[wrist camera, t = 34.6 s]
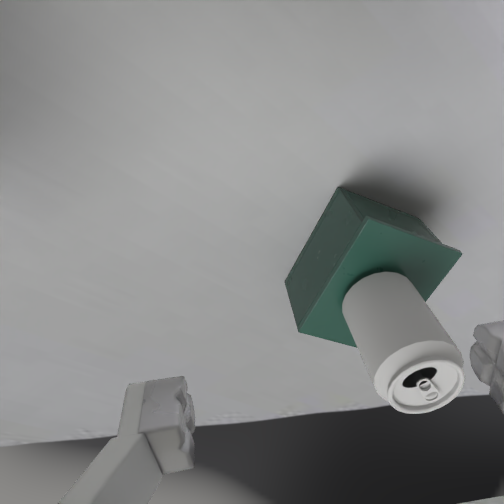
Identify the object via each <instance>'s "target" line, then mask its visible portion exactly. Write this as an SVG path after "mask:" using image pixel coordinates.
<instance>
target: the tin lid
mask: <svg viewBox="0 0 504 504" xmlns="http://www.w3.org/2000/svg"><path fill="white" fill-rule="evenodd" d="M461 255H462V253H461V251H460V250H457V249H455V248H452V247H449V246H447V245H444V244H441V243H439V242H436V241H433V240H431V239H428V238H425V237H423V236H420V235H417V234H415V233H412V232H409V231H406V230H404V229H401V228H398V227H396V226H393V225H390V224H388V223H385V222H382V221H380V220H377V219H374V218H372V217H369V216H366V217H365V218H364V220H363V222H362V223H361V225H360V227H359V228H358V230H357V231H356V233H355V235H354V236H353V238H352V240H351V241H350V243H349V244H348V246H347V248H346V249H345V251H344V253H343V254H342V256H341V257H340V259H339V261H338V262H337V264H336V266H335V267H334V269H333V271H332V272H331V274H330V275H329V277H328V279H327V280H326V282H325V284H324V285H323V287H322V288H321V290H320V292H319V293H318V295H317V297H316V298H315V300H314V301H313V303H312V305H311V306H310V308H309V310H308V311H307V313H306V314H305V316H304V318H303V319H302V321H301V323H300V324H299V326H298V327H297V329H298V332H300V333H304V334H308V335H311V336H315V337H319V338H323V339H327V340H330V341H334V342H338V343H342V344H346V345H349V346H353V347H357V345H356V343H355V341H354V338H353V336H352V334H351V332H350V329H349V327H348V325H347V322H346V320H345V318H344V315H343V313H342V303H343V300H344V298H345V295H346V294H347V292H348V291H349V290H350V288H351V287H352V286H353V285H354V284H356V283H357V282H358V281H360V280H361V279H362V278H365V277H367V276H369V275H372V274H374V273H381V272H394V273H398V274H401V275H403V276H405V277H407V278H408V280H409V281H410V282H411V283H412V284H413V285H414V287H415V288H416V290H417V291H418V292H419V294H420V295H421V297H422V298H423V299H424V301H425V302H426V301H427V299H428V298H429V297H430V295H431V294H432V293H433V291H434V290H435V289H436V288H437V286H438V285H439V284H440V282H441V281H442V280H443V279H444V277H445V276H446V275H447V273H448V272H449V271H450V270H451V268H452V267H453V266H454V264H455V263H456V262H457V260H458V259H459V258H460V257H461Z"/></svg>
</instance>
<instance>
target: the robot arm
mask: <svg viewBox="0 0 504 504" xmlns="http://www.w3.org/2000/svg"><path fill="white" fill-rule="evenodd" d="M473 336H474V337H475V339H476V340H477V341H476V343H475V344H474V345H473V346H472V347H471V350H470V361H471V366H472V368H473V370H474V372H475V374H476V376H477V377H478V379H479V380H480V381H481V382H483V383H485V384H487V385H489V386H490V392H489V394H490V396H491V397H492V399H493V400H494V401H495V403H496V404H497V406H498V407H499V409H500V410H501V411H502V413H503V414H504V320H503V321H498V322H492V323H487V324H481V325H477V327H476V328H475V330H474V334H473ZM194 431H195V414H194V406H193V401H192V398H191V395H189V394H188V393H187V383H186V380H185V377H184V376H179V377H172V378H165V379H158V380H152V381H147V382H140V383H133V384H129V385H128V387H127V389H126V392H125V398H124V403H123V408H122V413H121V419H120V424H119V429H118V434H117V437H116V438H111V440H110V441H109V442H108V443H107V445H106V446H105V447H104V448H103V449H102V451H101V452H100V453H99V454H98V456H97V457H96V458H95V459H94V460H93V461H92V463H91V464H90V465H89V466H88V467H87V469H86V470H85V471H84V472H83V474H82V475H81V476H80V477H79V479H78V480H77V481H76V482H75V483H74V484H73V486H72V487H71V488H70V489H69V491H68V492H67V493H66V494H65V495H64V497H63V498H62V499H61V500H60V501H59V503H58V504H148V502H149V501H150V499H151V497H152V495H153V494H154V492H155V490H156V488H157V486H158V485H159V483H160V481H161V479H162V478H163V474H167V473H173V472H177V471H182V470H187V469H192V468H194V459H195V458H194V457H195V444H194V441H193V438H192V434H193V432H194ZM461 504H504V496H500V497H494V498H489V499H483V500H478V501H472V502H466V503H461Z"/></svg>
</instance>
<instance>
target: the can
mask: <svg viewBox="0 0 504 504" xmlns="http://www.w3.org/2000/svg"><path fill="white" fill-rule="evenodd" d="M342 313H343V315H344V318H345V320H346V322H347V325H348V327H349V329H350V332H351V334H352V336H353V338H354V341H355V343H356V345H357V348H358V350H359V352H360V355H361V357H362V359H363V362H364V364H365V366H366V369H367V371H368V373H369V376H370V378H371V380H372V383H373V385H374V387H375V389H376V391H377V394H378V395H379V396H381V397H382V398H383V399H384V400H386V401H389V402H390V404H391V406H393V407H394V408H395V409H396V410H398V411H401V412H405V413H412V414H419V413H425V412H430V411H433V410H435V409H438V408H440V407H442V406H444V405H446V404H447V403H449V402H450V401H451V400H452V399H453V398H455V397H456V396H457V395H458V394H459V392H460V390H461V389H462V387H463V385H464V381H465V375H464V371H463V369H462V367H463V362H464V361H463V358H462V354H461V352H460V351H459V349H458V348H457V346H456V345H455V343H454V342H453V341H452V339H451V338H450V336H449V335H448V334H447V332H446V331H445V329H444V328H443V326H442V325H441V324H440V322H439V321H438V319H437V318H436V317H435V315H434V314H433V312H432V311H431V309H430V308H429V307H428V305H427V304H426V302H425V301H424V299H423V298H422V297H421V295H420V294H419V292H418V291H417V290H416V288H415V287H414V285H413V284H412V283H411V282H410V281H409V280H408V278H407V277H405V276H403V275H401V274H398V273H394V272H381V273H374V274H372V275H369V276H367V277H365V278H362V279H361V280H360V281H358V282H357V283H356V284H354V285H353V286H352V287H351V288H350V290H349V291H348V292H347V294H346V295H345V298H344V300H343V303H342Z"/></svg>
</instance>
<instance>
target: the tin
mask: <svg viewBox="0 0 504 504" xmlns="http://www.w3.org/2000/svg"><path fill="white" fill-rule="evenodd" d="M366 216H369V217H372V218H374V219H377V220H380V221H382V222H385V223H388V224H390V225H393V226H396V227H398V228H401V229H404V230H406V231H409V232H412V233H415V234H417V235H420V236H423V237H425V238H428V239H431V240H433V241H436V242H439V243H441V242H440V241H439V239H438V238H437V237H436V236H435V235H434V234H433V233H432V232H431V231H430V230H429V229H428V228H427V226H426V225H425V224H424V223H423V222H422V221H421V220H420V219H419V218H417V217H414V216H412V215H409V214H407V213H404V212H402V211H399V210H396V209H394V208H391V207H389V206H386V205H383V204H381V203H378V202H376V201H373V200H371V199H368V198H365V197H363V196H360V195H358V194H355V193H352V192H350V191H347V190H345V189H342V188H340V187H338V188H337V189H336V191H335V193H334V195H333V197H332V198H331V200H330V202H329V204H328V206H327V207H326V209H325V211H324V213H323V214H322V216H321V218H320V220H319V222H318V223H317V225H316V227H315V229H314V230H313V232H312V234H311V236H310V238H309V239H308V241H307V243H306V245H305V247H304V248H303V250H302V252H301V254H300V255H299V257H298V259H297V261H296V263H295V264H294V266H293V268H292V270H291V271H290V273H289V275H288V277H287V279H286V280H285V285H286V289H287V292H288V296H289V299H290V303H291V307H292V310H293V314H294V317H295V321H296V325H297V327H298V326H299V324H300V323H301V321H302V319H303V318H304V316H305V314H306V313H307V311H308V310H309V308H310V306H311V305H312V303H313V301H314V300H315V298H316V297H317V295H318V293H319V292H320V290H321V288H322V287H323V285H324V284H325V282H326V280H327V279H328V277H329V275H330V274H331V272H332V271H333V269H334V267H335V266H336V264H337V262H338V261H339V259H340V257H341V256H342V254H343V253H344V251H345V249H346V248H347V246H348V244H349V243H350V241H351V240H352V238H353V236H354V235H355V233H356V231H357V230H358V228H359V227H360V225H361V223H362V222H363V220H364V218H365V217H366ZM441 244H442V243H441Z"/></svg>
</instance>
